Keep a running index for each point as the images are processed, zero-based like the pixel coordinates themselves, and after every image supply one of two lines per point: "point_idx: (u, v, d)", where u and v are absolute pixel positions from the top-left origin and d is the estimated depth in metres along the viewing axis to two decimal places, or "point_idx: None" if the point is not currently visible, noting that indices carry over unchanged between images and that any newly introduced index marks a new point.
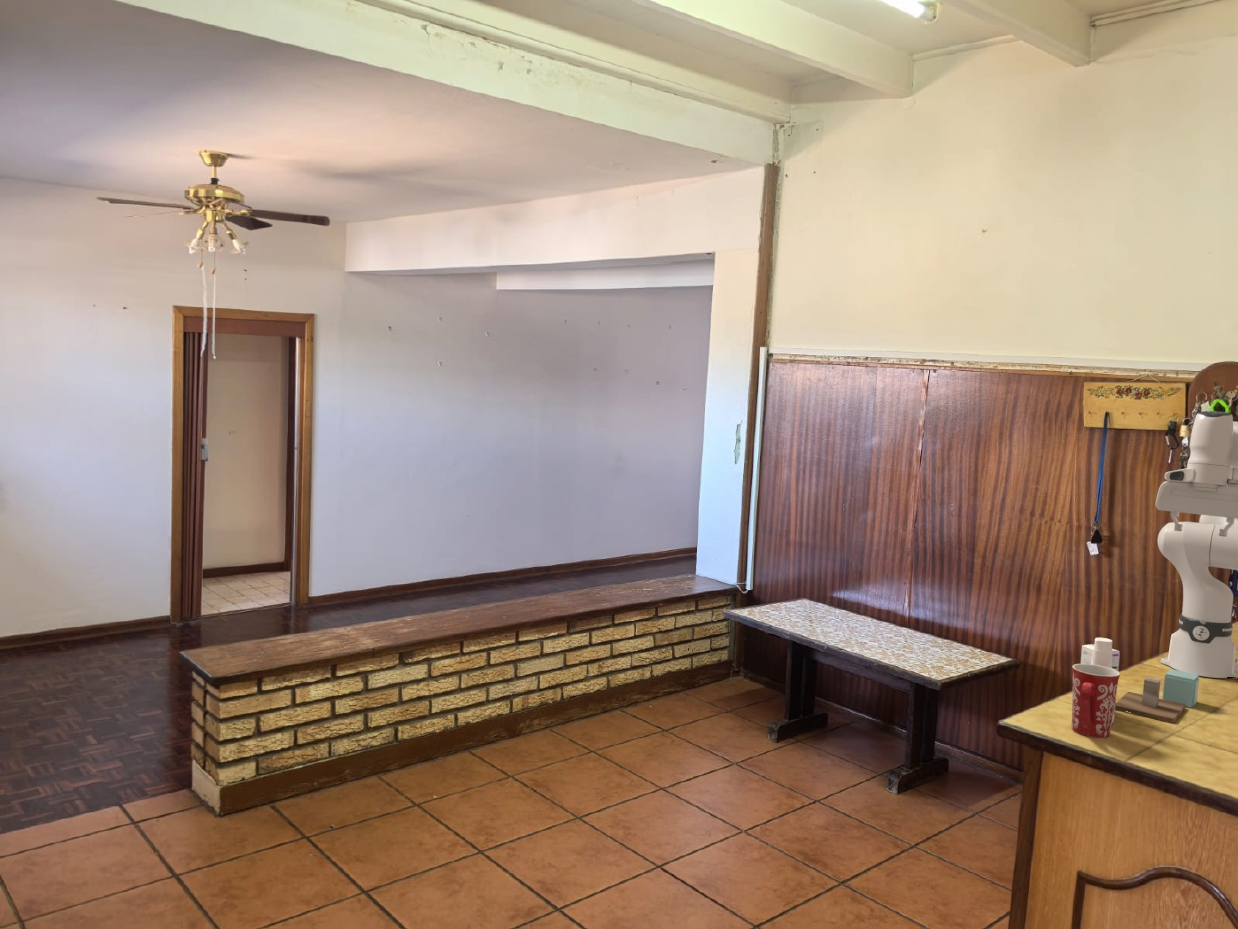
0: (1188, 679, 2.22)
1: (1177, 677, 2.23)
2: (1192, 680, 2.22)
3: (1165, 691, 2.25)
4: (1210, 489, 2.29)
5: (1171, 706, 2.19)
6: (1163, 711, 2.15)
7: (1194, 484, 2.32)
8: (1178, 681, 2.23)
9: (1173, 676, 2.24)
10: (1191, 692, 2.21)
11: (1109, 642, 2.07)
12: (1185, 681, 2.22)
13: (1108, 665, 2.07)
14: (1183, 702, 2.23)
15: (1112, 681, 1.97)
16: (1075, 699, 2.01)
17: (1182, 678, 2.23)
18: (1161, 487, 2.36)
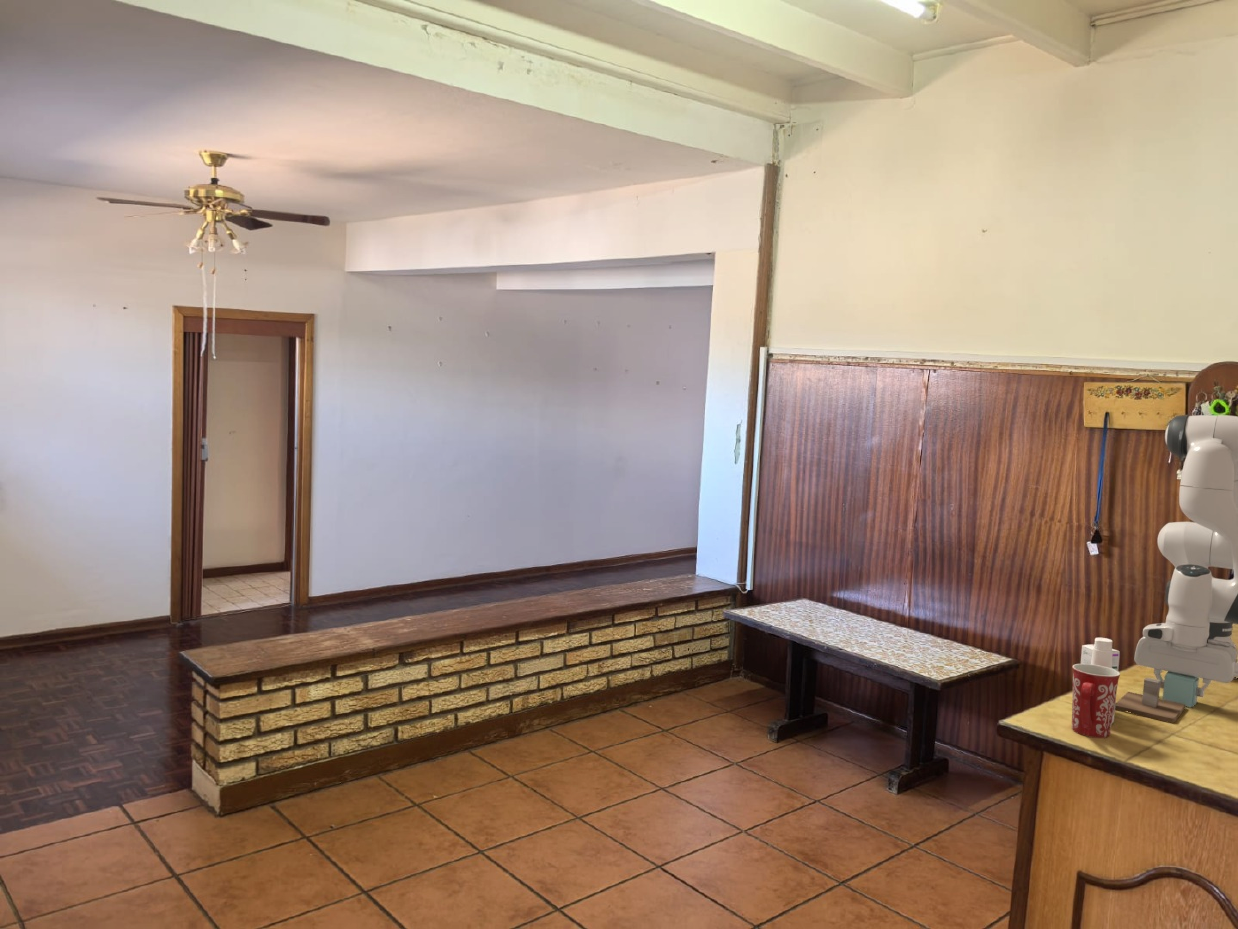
0: (1188, 679, 2.22)
1: (1177, 677, 2.23)
2: (1192, 680, 2.22)
3: (1165, 691, 2.25)
4: (1189, 650, 2.22)
5: (1171, 706, 2.19)
6: (1163, 711, 2.15)
7: (1173, 643, 2.24)
8: (1178, 681, 2.23)
9: (1173, 676, 2.24)
10: (1191, 692, 2.21)
11: (1109, 642, 2.07)
12: (1185, 681, 2.22)
13: (1108, 665, 2.07)
14: (1183, 702, 2.23)
15: (1112, 681, 1.97)
16: (1075, 699, 2.01)
17: (1182, 678, 2.23)
18: (1139, 643, 2.29)
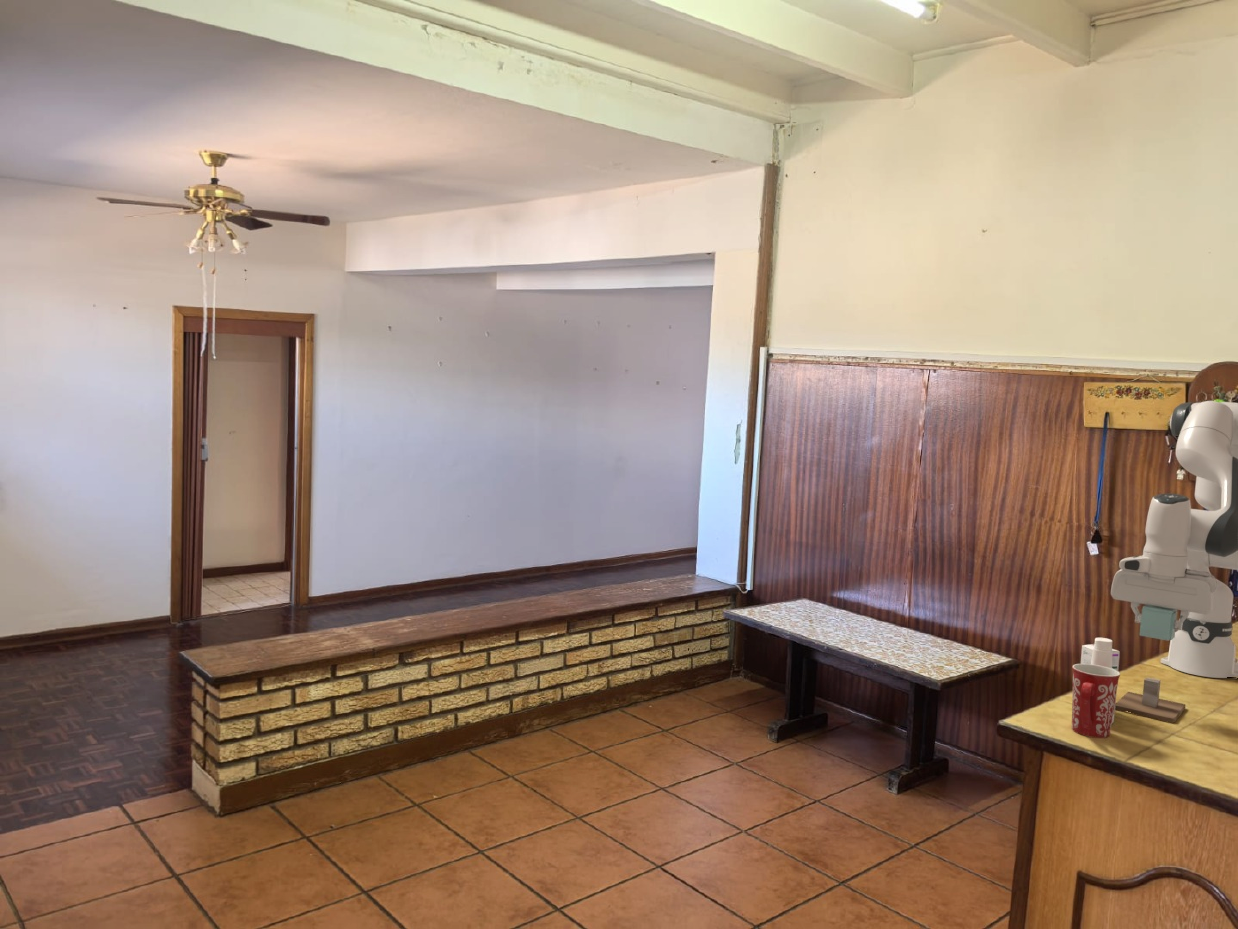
0: (1166, 611, 2.14)
1: (1154, 609, 2.15)
2: (1170, 612, 2.13)
3: (1142, 624, 2.17)
4: (1167, 581, 2.14)
5: (1171, 706, 2.19)
6: (1163, 711, 2.15)
7: (1150, 574, 2.16)
8: (1156, 613, 2.15)
9: (1150, 608, 2.16)
10: (1169, 624, 2.13)
11: (1109, 642, 2.07)
12: (1162, 613, 2.14)
13: (1108, 665, 2.07)
14: (1160, 635, 2.14)
15: (1112, 681, 1.97)
16: (1075, 699, 2.01)
17: (1159, 610, 2.15)
18: (1116, 576, 2.21)
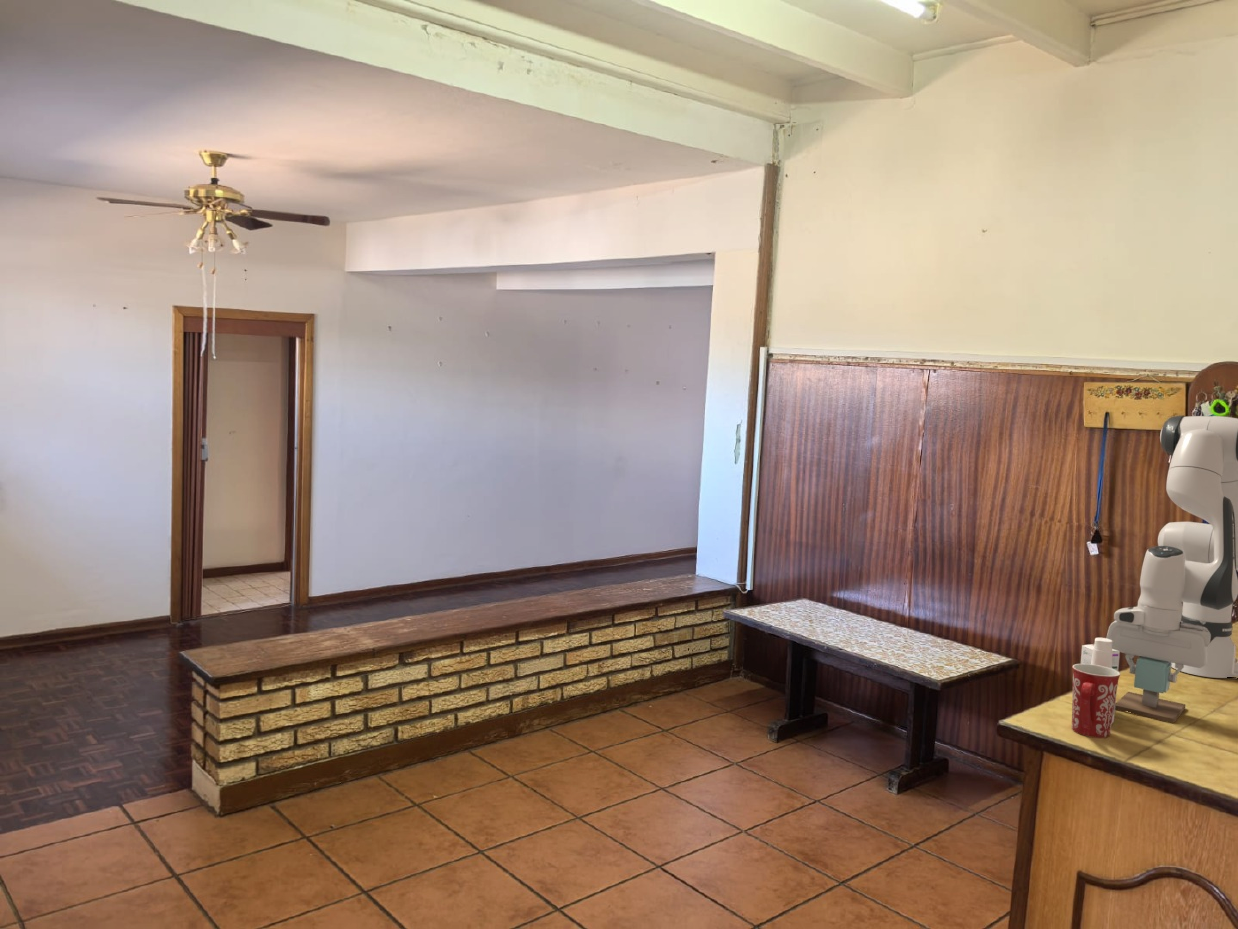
0: (1160, 664, 2.15)
1: (1149, 662, 2.16)
2: (1164, 665, 2.14)
3: (1137, 676, 2.18)
4: (1161, 634, 2.15)
5: (1171, 706, 2.19)
6: (1163, 711, 2.15)
7: (1145, 627, 2.17)
8: (1150, 666, 2.16)
9: (1145, 661, 2.17)
10: (1163, 677, 2.14)
11: (1109, 642, 2.07)
12: (1157, 666, 2.15)
13: (1108, 665, 2.07)
14: (1155, 688, 2.15)
15: (1112, 681, 1.97)
16: (1075, 699, 2.01)
17: (1154, 663, 2.16)
18: (1111, 627, 2.22)
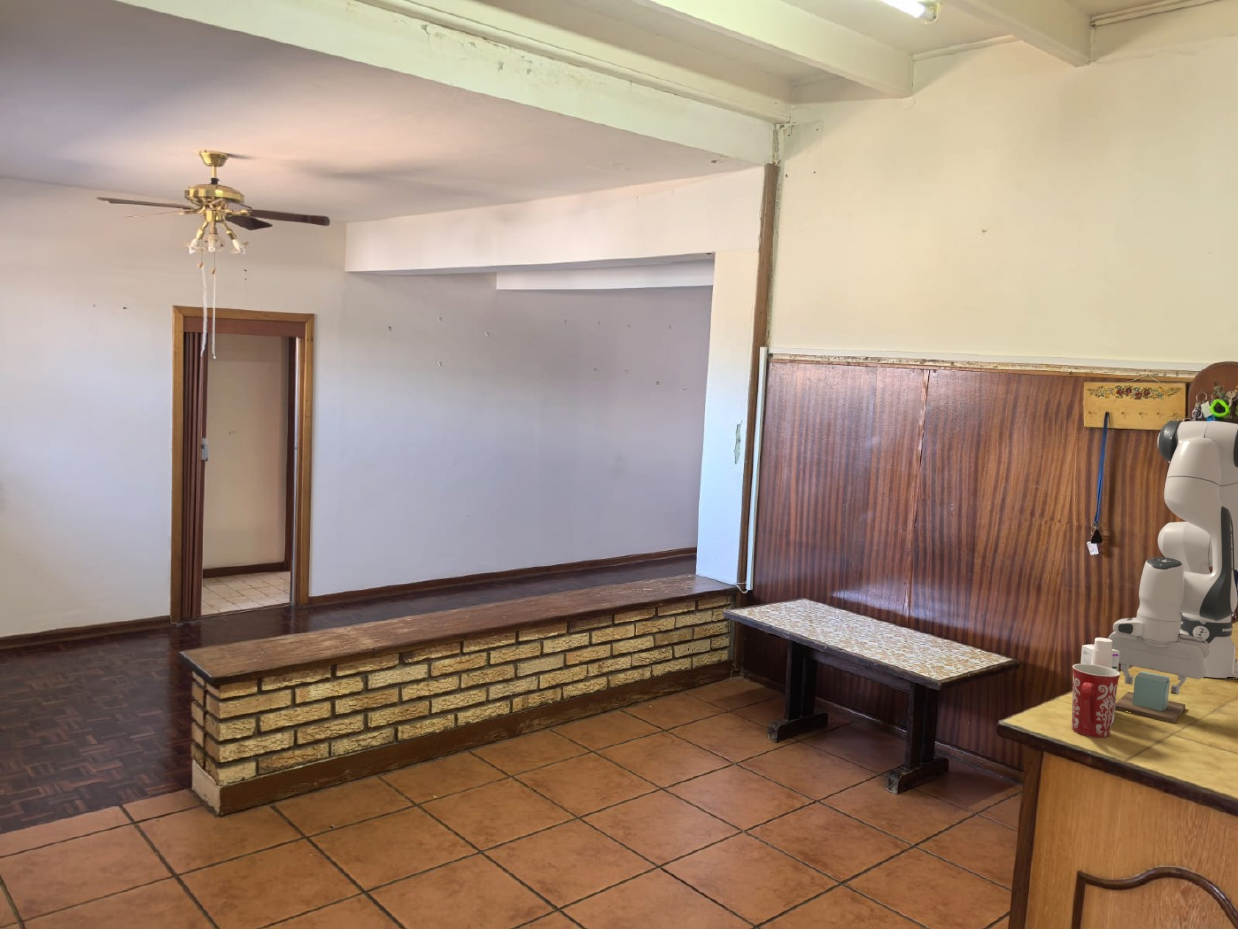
0: (1158, 682, 2.15)
1: (1147, 679, 2.17)
2: (1162, 683, 2.15)
3: (1135, 694, 2.18)
4: (1160, 645, 2.15)
5: (1171, 706, 2.19)
6: (1163, 711, 2.15)
7: (1144, 638, 2.17)
8: (1148, 683, 2.16)
9: (1143, 678, 2.17)
10: (1161, 695, 2.15)
11: (1109, 642, 2.07)
12: (1155, 684, 2.15)
13: (1108, 665, 2.07)
14: (1153, 705, 2.16)
15: (1112, 681, 1.97)
16: (1075, 699, 2.01)
17: (1152, 681, 2.16)
18: (1110, 638, 2.22)
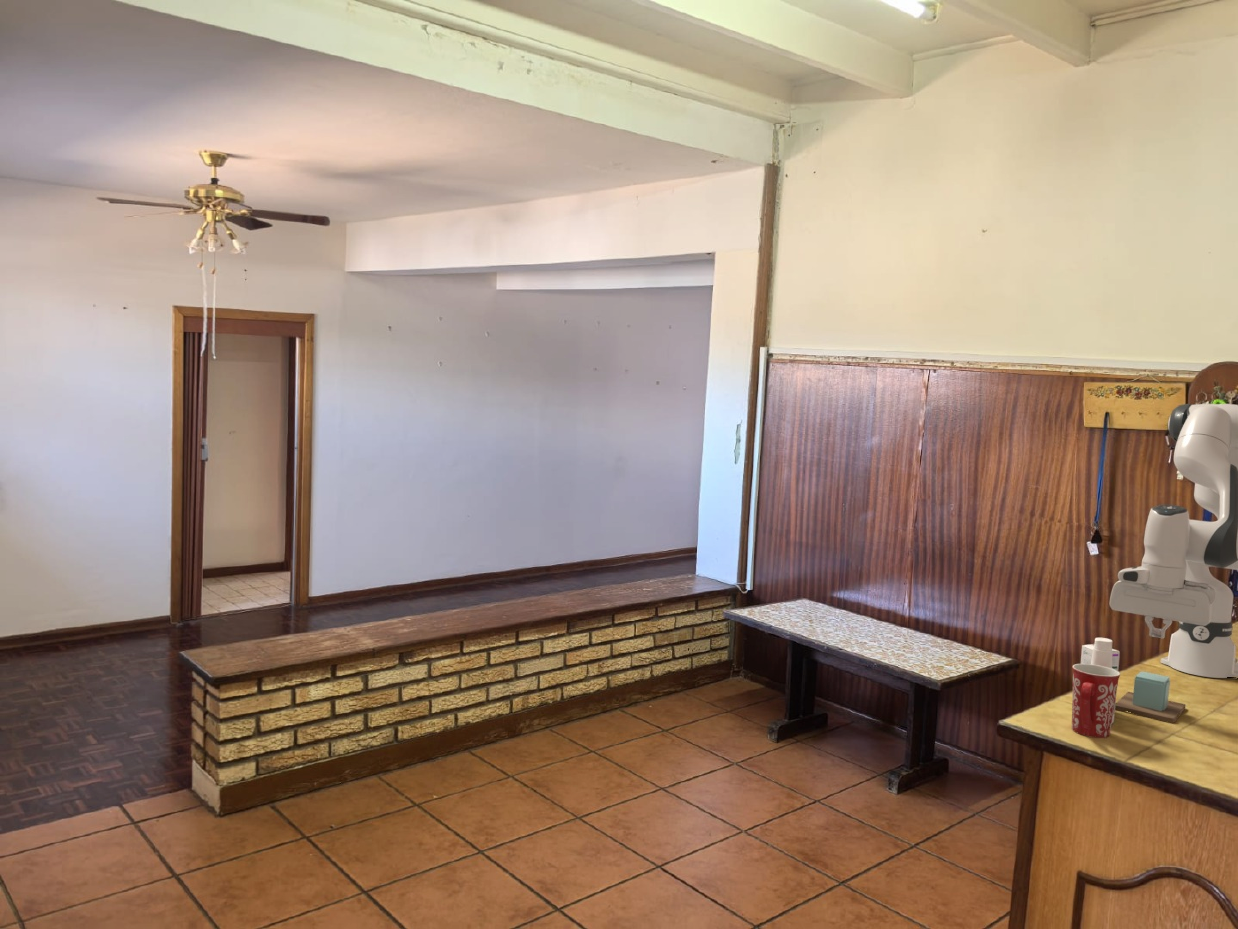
0: (1158, 682, 2.15)
1: (1147, 679, 2.17)
2: (1162, 683, 2.15)
3: (1135, 694, 2.18)
4: (1165, 592, 2.14)
5: (1171, 706, 2.19)
6: (1163, 711, 2.15)
7: (1149, 585, 2.16)
8: (1148, 683, 2.16)
9: (1143, 678, 2.17)
10: (1161, 695, 2.15)
11: (1109, 642, 2.07)
12: (1155, 684, 2.15)
13: (1108, 665, 2.07)
14: (1153, 705, 2.16)
15: (1112, 681, 1.97)
16: (1075, 699, 2.01)
17: (1152, 681, 2.16)
18: (1115, 587, 2.21)
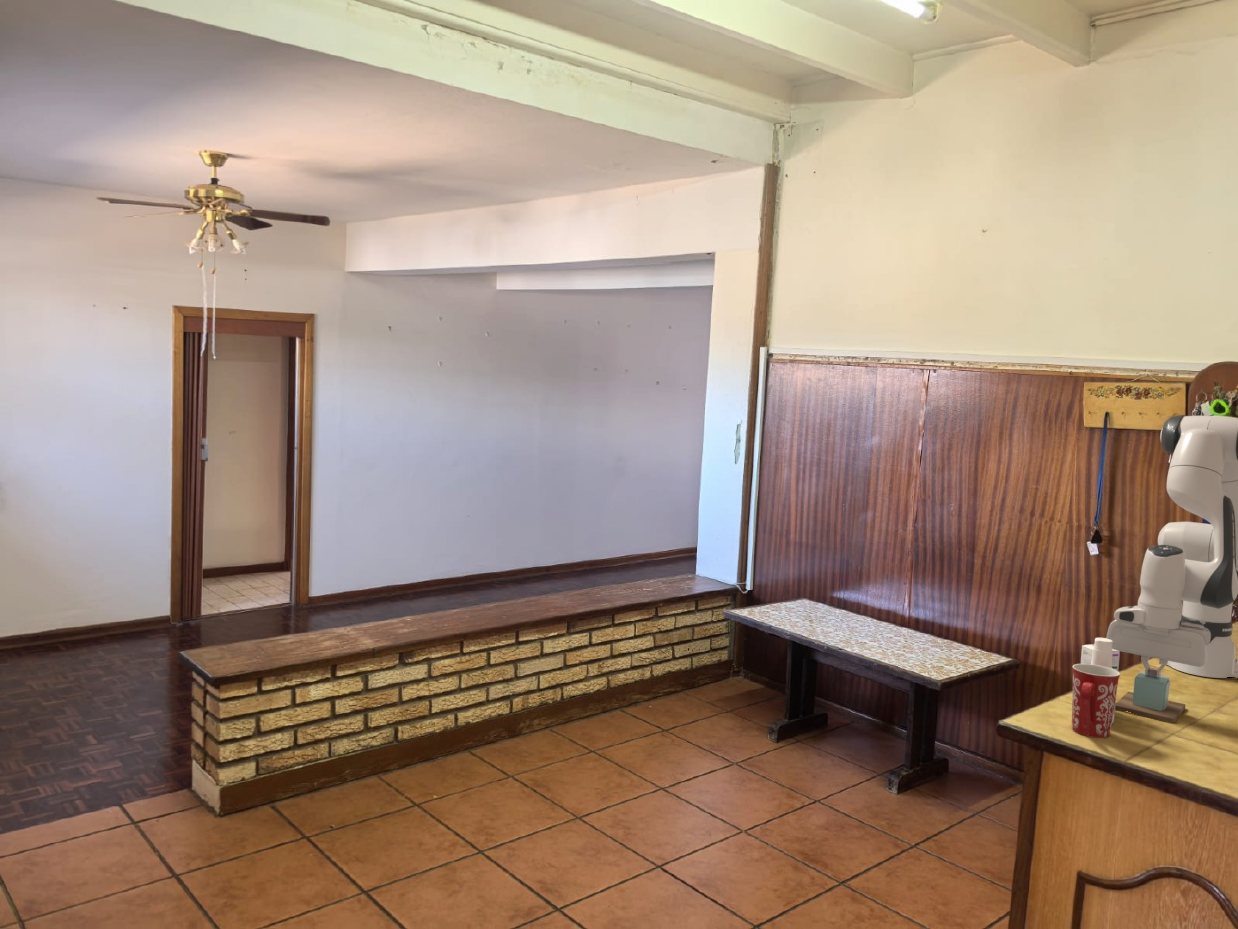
0: (1158, 682, 2.15)
1: (1147, 680, 2.17)
2: (1162, 683, 2.15)
3: (1135, 694, 2.18)
4: (1161, 633, 2.15)
5: (1171, 706, 2.19)
6: (1163, 711, 2.15)
7: (1145, 626, 2.17)
8: (1148, 683, 2.16)
9: (1143, 679, 2.17)
10: (1161, 695, 2.15)
11: (1109, 642, 2.07)
12: (1155, 684, 2.15)
13: (1108, 665, 2.07)
14: (1153, 705, 2.16)
15: (1112, 681, 1.97)
16: (1075, 699, 2.01)
17: (1152, 681, 2.16)
18: (1111, 626, 2.22)
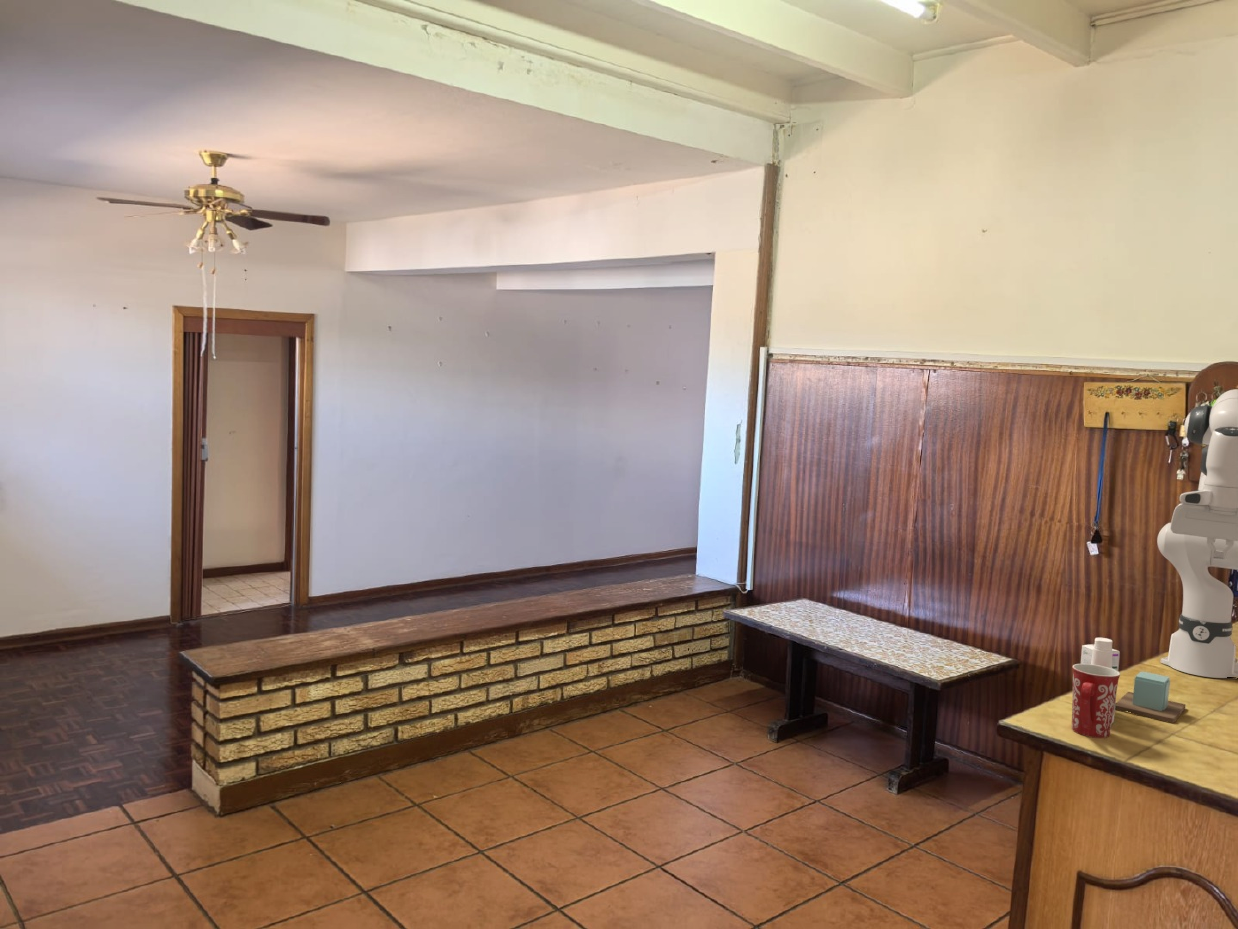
0: (1158, 682, 2.15)
1: (1147, 679, 2.17)
2: (1162, 683, 2.15)
3: (1135, 694, 2.18)
4: (1229, 513, 2.15)
5: (1171, 706, 2.19)
6: (1163, 711, 2.15)
7: (1211, 507, 2.17)
8: (1148, 683, 2.16)
9: (1143, 678, 2.17)
10: (1161, 695, 2.15)
11: (1109, 642, 2.07)
12: (1155, 684, 2.15)
13: (1108, 665, 2.07)
14: (1153, 705, 2.16)
15: (1112, 681, 1.97)
16: (1075, 699, 2.01)
17: (1152, 681, 2.16)
18: (1176, 510, 2.22)
